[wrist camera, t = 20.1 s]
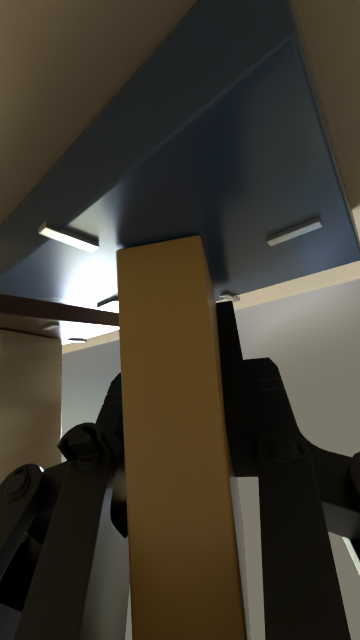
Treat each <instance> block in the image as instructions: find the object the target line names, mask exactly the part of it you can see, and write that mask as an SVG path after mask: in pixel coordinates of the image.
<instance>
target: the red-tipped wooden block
mask: <svg viewBox="0 0 360 640" xmlns="http://www.w3.org/2000/svg"><path fill="white" fill-rule="evenodd" d="M116 264H117V288H118V311H119V335H120V358H121V382H122V405H123V429H124V452H125V476H126V499H127V523H128V546H129V570H130V591H131V592H130V593H131V616H132V640H250V625H249V609H248V594H247V578H246V563H245V548H244V532H243V521H242V513H241V505H240V497H239V489H238V480H237V477H235V476H234V470H233V465H232V459H231V453H230V447H229V442H228V436H227V430H226V423H225V411H224V398H223V385H222V373H221V360H220V347H219V335H218V322H217V310H216V302H215V294H214V290H213V286H212V282H211V278H210V274H209V269H208V265H207V261H206V257H205V253H204V249H203V244H202V240H201V237H200V236H199V235H194V236H189V237H184V238H178V239H173V240H168V241H162V242H157V243H151V244H146V245H141V246H135V247H130V248H124V249H119V250H117V251H116Z"/></svg>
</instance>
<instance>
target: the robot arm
mask: <svg viewBox="0 0 360 640" xmlns="http://www.w3.org/2000/svg"><path fill="white" fill-rule="evenodd" d="M216 309H217V322H218V335H219V347H220V360H221V373H222V385H223V398H224V411H225V423H226V430H227V436H228V442H229V447H230V453H231V459H232V465H233V470H234V476H235V477H252V476H253V477H257V476H258V478H259V500H260V523H261V524H260V525H261V546H262V547H261V548H262V568H263V569H262V571H263V593H264V614H265V616H264V617H265V640H351V638H350V633H349V629H348V624H347V619H346V615H345V610H344V605H343V600H342V596H341V591H340V586H339V582H338V577H337V572H336V568H335V563H334V558H333V554H332V549H331V544H330V539H329V535H328V531H329V532H332V533H334V534H337V535H340V536H342V537H343V539H344V542H345V544H346V546H347V548H348V550H349V553H350V555H351V557H352V559H353V561H354V564H355V566H356V568H357V570H358V572H359V575H360V452H359V453H356V454H355V455H354V456H353V457H348V456H345V455H341V454H337V453H333V452H329V451H326V450H323V449H320V448H319V447H317V446H315V445H313V444H311V443H310V442H309V441H308V440H307V439H306V438H305V437H304V436H303V435H302V433H301V432H300V430H299V428H298V426H297V423H296V421H295V417H294V414H293V411H292V408H291V405H290V402H289V399H288V397H287V393H286V390H285V388H284V385H283V382H282V380H281V376H280V373H279V370H278V367H277V366H276V364H275V363H274V362H273V361H272V360H271V359H269V357H268V358H258V359H247V360H243V358H242V352H241V346H240V341H239V335H238V330H237V325H236V319H235V314H234V308H233V303H232V301H226V302H219V303H216ZM57 448H58V449H59V450H60V452H61V453H62V454H63V455H64V457H65V458H66V459H67V461H66V462H63V463H60V464H57V465H55V466H52V467H49V468H47V469H44V470H42V468H41V467H40V466H39V465H36V464H34V463H31V464H25V465H23V466H20V467H18V468H16V469H15V470H14V471H13V472H11V473H10V474H9V475H8V476H7V477H6V478H5V479H4V480H3V482H2V483H1V484H0V640H125V632H126V620H127V608H128V596H129V584H130V570H129V546H128V523H127V499H126V476H125V452H124V429H123V405H122V382H121V373H119V374H118V375H117V376H116V377H115V379H114V380H113V381H112V382H111V385H110V387H109V390H108V392H107V396H106V397H105V400H104V404H103V405H102V408H101V410H100V413H99V415H98V418H97V421H96V423H95V424H94V423H83V424H80V425H76V426H75V427H73V428H72V429H70V430H69V431H68V432H67V433H66V434H65V435H64V436H63V437H62V438H61V439H60V441H59V443H58V445H57Z"/></svg>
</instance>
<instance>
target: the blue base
mask: <svg viewBox="0 0 360 640" xmlns="http://www.w3.org/2000/svg"><path fill="white" fill-rule="evenodd" d="M194 235H199V236H200V237H201V240H202V244H203V249H204V253H205V257H206V261H207V265H208V269H209V274H210V278H211V282H212V286H213V290H214V294H215V301H219V300H222V299H228V300H231V301H234V302H235V301H239V300H240V297H238V296H236V295H240V294H243V293H247V292H250V291H254V290H257V289H261V288H264V287H268V286H271V285H275V284H278V283H282V282H285V281H289V280H292V279H296V278H299V277H303V276H306V275H310V274H313V273H317V272H320V271H324V270H328V269H331V268H335V267H338V266H342V265H345V264H349V263H352V262H356V261H359V260H360V240H359V236H358V233H357V229H356V225H355V221H354V217H353V213H352V210H351V206H350V202H349V199H348V195H347V192H346V188H345V185H344V181H343V177H342V174H341V170H340V167H339V163H338V159H337V156H336V152H335V149H334V145H333V142H332V138H331V134H330V131H329V127H328V124H327V120H326V117H325V113H324V109H323V106H322V102H321V99H320V95H319V92H318V88H317V84H316V81H315V77H314V74H313V70H312V67H311V63H310V59H309V56H308V52H307V49H306V45H305V42H304V38H303V34H302V31H301V27H300V24H299V20H298V16H297V13H296V9H295V6H294V2H293V0H199V1H198V2H197V3H196V4H195V5H194V7H193V8H192V9H191V10H190V11H189V12H188V13H187V15H186V16H185V17H184V18H183V19H182V20H181V21H180V23H179V24H178V25H177V26H176V27H175V28H174V29H173V31H172V32H171V33H170V34H169V35H168V36H167V37H166V39H165V40H164V41H163V42H162V43H161V44H160V45H159V46H158V48H157V49H156V50H155V51H154V52H153V53H152V54H151V56H150V57H149V58H148V59H147V60H146V61H145V62H144V64H143V65H142V66H141V67H140V68H139V69H138V70H137V72H136V73H135V74H134V75H133V76H132V77H131V78H130V80H129V81H128V82H127V83H126V84H125V85H124V86H123V88H122V89H121V90H120V91H119V92H118V93H117V94H116V96H115V97H114V98H113V99H112V100H111V101H110V102H109V104H108V105H107V106H106V107H105V108H104V109H103V110H102V112H101V113H100V114H99V115H98V116H97V117H96V118H95V120H94V121H93V122H92V123H91V124H90V125H89V126H88V128H87V129H86V130H85V131H84V132H83V133H82V134H81V136H80V137H79V138H78V139H77V140H76V141H75V142H74V144H73V145H72V146H71V147H70V148H69V149H68V150H67V152H66V153H65V154H64V155H63V156H62V157H61V158H60V160H59V161H58V162H57V163H56V164H55V165H54V166H53V168H52V169H51V170H50V171H49V172H48V173H47V174H46V175H45V177H44V178H43V179H42V180H41V181H40V182H39V183H38V185H37V186H36V187H35V188H34V189H33V190H32V191H31V193H30V194H29V195H28V196H27V197H26V198H25V199H24V201H23V202H22V203H21V204H20V205H19V206H18V207H17V209H16V210H15V211H14V212H13V213H12V214H11V215H10V217H9V218H8V219H7V220H6V221H5V222H4V223H3V225H2V226H1V227H0V294H6V295H12V296H19V297H25V298H31V299H37V300H43V301H50V302H56V303H62V304H68V305H75V306H81V307H87V308H93V309H99V310H106V311H112V312H118V313H119V311H118V288H117V264H116V251H117V250H119V249H124V248H130V247H135V246H141V245H146V244H151V243H157V242H162V241H168V240H173V239H178V238H184V237H189V236H194Z"/></svg>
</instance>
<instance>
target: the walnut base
mask: <svg viewBox="0 0 360 640" xmlns="http://www.w3.org/2000/svg"><path fill="white" fill-rule="evenodd" d="M2 329H3V330H9V331H14V332H20V333H25V334H31V335H36V336H42V337H47V338H53V339H58V340H62V345H64V344H68V343H71V342H86V340H82V339H85V338H89V337H92V336H96V335H99V334H103V333H106V332H110V331H113V330H117V329H119V313H118V312H112V311H106V310H99V309H93V308H87V307H81V306H75V305H68V304H62V303H56V302H50V301H43V300H37V299H31V298H25V297H19V296H12V295H6V294H0V330H2Z"/></svg>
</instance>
